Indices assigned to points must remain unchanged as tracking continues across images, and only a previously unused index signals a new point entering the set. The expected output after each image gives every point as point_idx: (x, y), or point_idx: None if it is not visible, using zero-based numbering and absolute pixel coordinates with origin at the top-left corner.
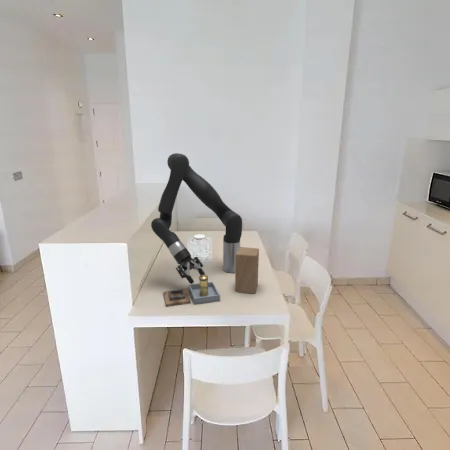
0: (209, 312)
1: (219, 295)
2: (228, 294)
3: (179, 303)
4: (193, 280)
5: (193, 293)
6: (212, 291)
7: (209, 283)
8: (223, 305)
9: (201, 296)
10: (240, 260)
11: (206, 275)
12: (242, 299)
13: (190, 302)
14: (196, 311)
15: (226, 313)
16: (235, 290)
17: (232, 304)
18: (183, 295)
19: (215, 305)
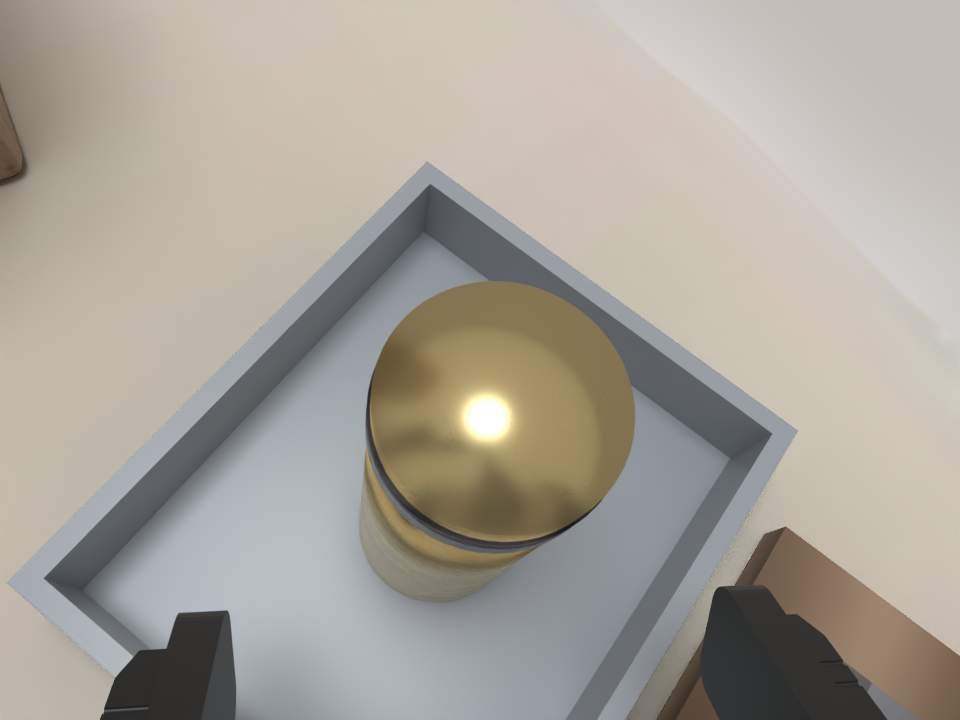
0: (733, 181)
1: (433, 170)
2: (168, 219)
3: (940, 649)
4: (744, 603)
5: (689, 571)
6: (251, 465)
7: (97, 622)
8: (487, 128)
9: None
10: None
11: (394, 370)
12: (195, 8)
13: (775, 532)
14: (838, 323)
15: (608, 22)
16: (16, 157)
17: (392, 53)
18: None
19: (556, 208)
